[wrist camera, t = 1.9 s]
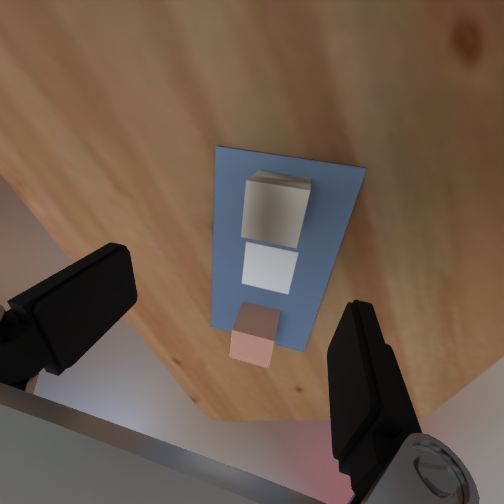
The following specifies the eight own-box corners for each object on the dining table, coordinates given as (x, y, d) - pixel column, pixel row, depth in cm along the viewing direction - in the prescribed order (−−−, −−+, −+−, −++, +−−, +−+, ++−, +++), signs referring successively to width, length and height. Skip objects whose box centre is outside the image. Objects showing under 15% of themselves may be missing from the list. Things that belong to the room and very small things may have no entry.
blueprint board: (365, 167, 21) (367, 168, 20) (303, 348, 33) (303, 352, 33) (218, 145, 23) (215, 146, 22) (212, 323, 35) (210, 327, 35)
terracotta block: (280, 310, 30) (274, 341, 26) (274, 336, 33) (268, 368, 28) (243, 301, 31) (232, 329, 26) (240, 327, 33) (229, 357, 29)
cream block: (311, 177, 22) (310, 190, 17) (299, 226, 24) (296, 248, 20) (259, 169, 22) (246, 180, 18) (253, 217, 25) (240, 237, 20)
